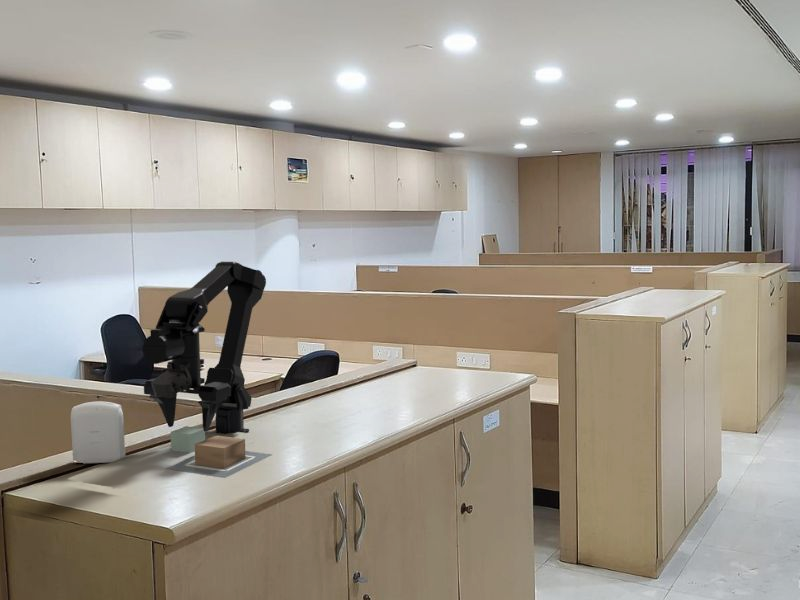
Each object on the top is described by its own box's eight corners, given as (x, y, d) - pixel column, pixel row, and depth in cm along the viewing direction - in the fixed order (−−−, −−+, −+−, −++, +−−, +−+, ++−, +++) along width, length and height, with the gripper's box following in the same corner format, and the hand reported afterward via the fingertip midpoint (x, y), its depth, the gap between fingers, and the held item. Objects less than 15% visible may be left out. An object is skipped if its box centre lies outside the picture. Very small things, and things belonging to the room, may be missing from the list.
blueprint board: (216, 451, 165) (216, 446, 165) (272, 459, 159) (272, 453, 159) (165, 473, 150) (165, 468, 150) (225, 482, 145) (225, 477, 145)
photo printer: (69, 465, 156) (67, 405, 155) (76, 459, 160) (73, 400, 159) (122, 463, 157) (120, 403, 156) (127, 457, 161) (125, 399, 160)
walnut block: (217, 454, 159) (216, 435, 159) (245, 458, 156) (245, 439, 156) (195, 464, 153) (194, 444, 152) (224, 468, 150) (223, 448, 150)
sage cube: (186, 448, 167) (186, 426, 167) (205, 451, 165) (205, 428, 165) (171, 455, 163) (170, 431, 162) (190, 457, 161) (189, 434, 160)
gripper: (123, 359, 159) (126, 433, 160) (197, 365, 151) (199, 443, 153) (160, 350, 169) (163, 421, 170) (231, 356, 161) (233, 429, 163)
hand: (188, 428), depth 164 cm, fingers open, 9 cm apart
